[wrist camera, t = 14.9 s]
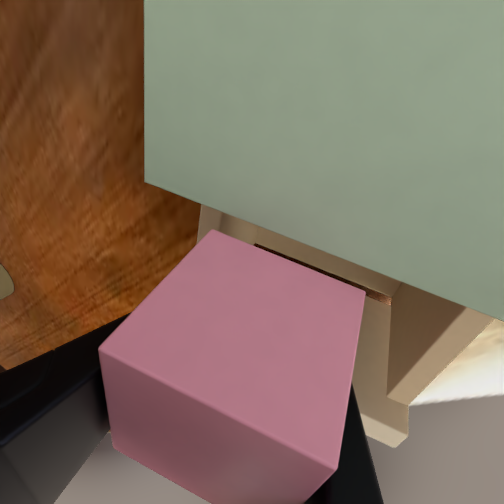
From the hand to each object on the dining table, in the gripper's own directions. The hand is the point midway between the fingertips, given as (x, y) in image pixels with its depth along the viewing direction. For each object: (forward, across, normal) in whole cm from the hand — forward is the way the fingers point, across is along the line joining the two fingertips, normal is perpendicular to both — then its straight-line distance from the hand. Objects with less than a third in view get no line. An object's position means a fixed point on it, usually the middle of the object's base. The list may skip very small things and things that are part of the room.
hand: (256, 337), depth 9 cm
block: (+1, 0, 0) cm, 1 cm away
